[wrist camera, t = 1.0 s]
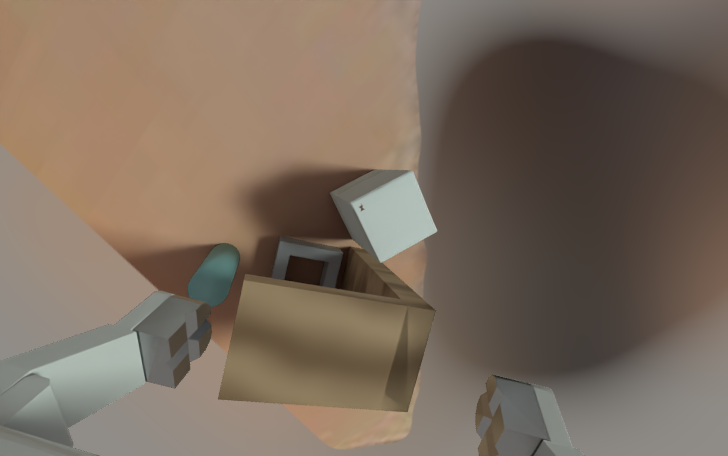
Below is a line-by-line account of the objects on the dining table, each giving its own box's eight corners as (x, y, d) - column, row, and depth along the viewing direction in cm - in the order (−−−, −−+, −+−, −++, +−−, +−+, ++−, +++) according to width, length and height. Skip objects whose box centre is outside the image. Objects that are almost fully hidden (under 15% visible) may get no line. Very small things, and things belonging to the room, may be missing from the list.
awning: (256, 227, 45) (243, 280, 25) (367, 249, 49) (435, 310, 29) (242, 294, 46) (217, 399, 26) (352, 311, 50) (407, 412, 30)
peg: (212, 240, 44) (191, 267, 33) (242, 246, 45) (232, 274, 34) (206, 268, 44) (184, 304, 33) (236, 273, 45) (224, 309, 34)
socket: (279, 236, 46) (280, 240, 43) (339, 247, 48) (343, 253, 45) (266, 294, 47) (266, 303, 44) (325, 303, 49) (328, 312, 46)
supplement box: (351, 240, 48) (378, 266, 36) (328, 191, 47) (347, 201, 34) (398, 216, 50) (439, 232, 38) (377, 167, 48) (413, 168, 36)
